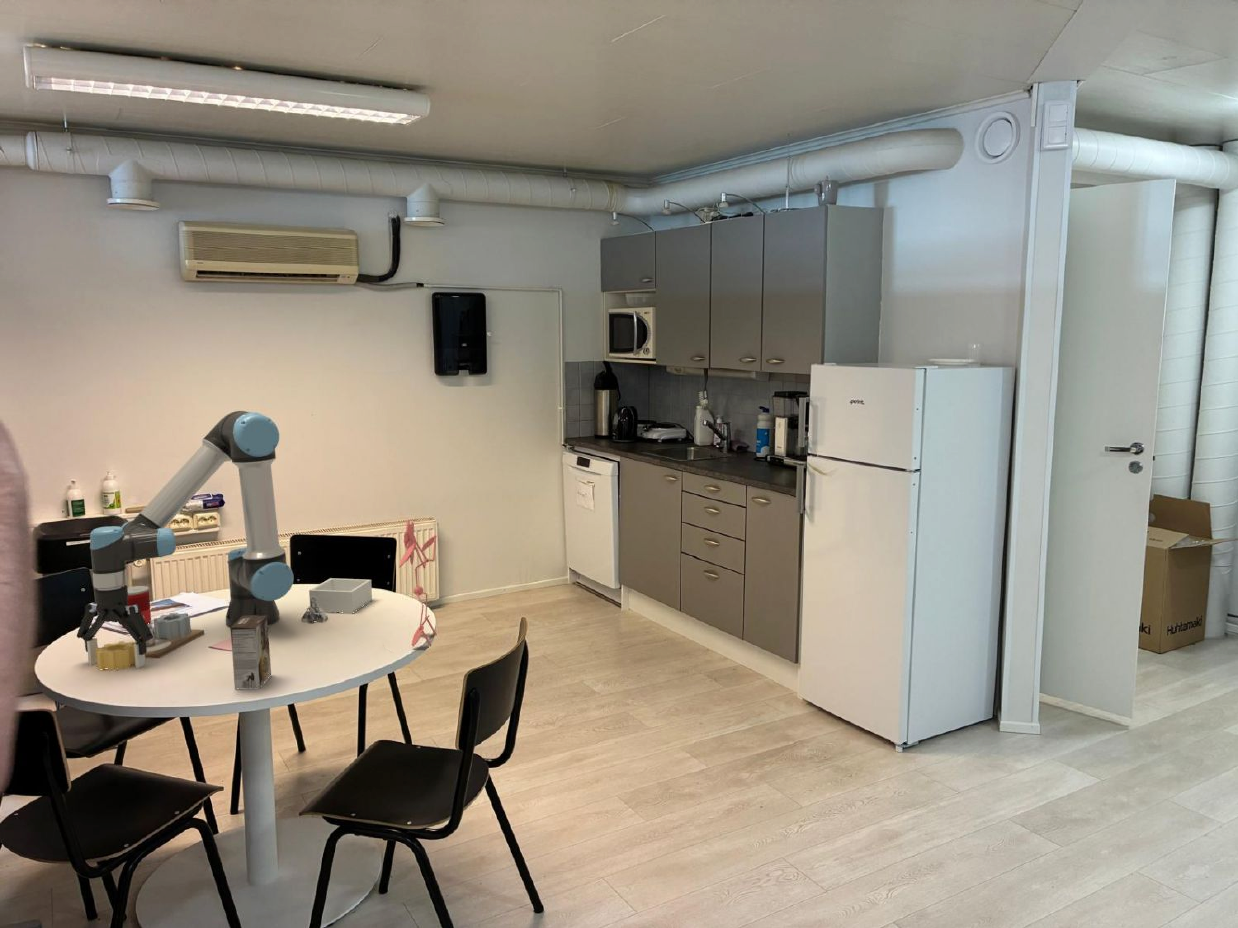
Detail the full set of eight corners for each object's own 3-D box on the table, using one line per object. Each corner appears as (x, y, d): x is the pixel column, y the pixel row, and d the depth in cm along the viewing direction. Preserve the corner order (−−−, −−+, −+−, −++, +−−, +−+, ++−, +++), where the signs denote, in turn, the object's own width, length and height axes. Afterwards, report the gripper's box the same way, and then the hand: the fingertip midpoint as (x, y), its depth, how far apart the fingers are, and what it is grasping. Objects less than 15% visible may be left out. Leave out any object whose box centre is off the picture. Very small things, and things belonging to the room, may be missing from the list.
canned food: (157, 620, 266) (154, 586, 264) (140, 629, 258) (137, 593, 257) (133, 620, 267) (130, 585, 265) (115, 628, 259) (112, 592, 257)
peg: (157, 644, 242) (155, 622, 241) (151, 647, 239) (150, 625, 238) (149, 644, 242) (147, 622, 241) (143, 647, 240) (142, 625, 239)
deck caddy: (372, 600, 286) (371, 579, 285) (352, 613, 272) (351, 592, 271) (331, 598, 288) (330, 578, 287) (310, 611, 274) (309, 590, 273)
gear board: (204, 633, 254) (204, 629, 254) (158, 658, 234) (158, 653, 234) (163, 631, 256) (163, 627, 256) (115, 656, 236) (114, 651, 236)
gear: (197, 629, 254) (195, 609, 253) (177, 640, 245) (175, 619, 244) (169, 628, 255) (167, 608, 254) (148, 638, 246) (146, 617, 245)
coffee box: (246, 676, 222) (242, 615, 219) (272, 675, 222) (268, 614, 220) (233, 690, 213) (229, 626, 210) (260, 689, 213) (256, 626, 211)
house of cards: (287, 627, 260) (286, 602, 259) (301, 618, 269) (299, 594, 268) (316, 628, 259) (315, 603, 258) (329, 619, 268) (328, 595, 267)
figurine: (444, 625, 260) (440, 511, 256) (429, 656, 235) (424, 529, 230) (392, 626, 260) (387, 511, 255) (371, 657, 234) (366, 530, 229)
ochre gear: (144, 660, 233) (143, 642, 232) (121, 672, 224) (119, 653, 224) (114, 658, 234) (112, 640, 234) (90, 670, 226) (88, 652, 225)
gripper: (164, 584, 228) (169, 662, 231) (78, 580, 232) (85, 657, 235) (144, 592, 221) (150, 672, 224) (56, 588, 224) (63, 667, 227)
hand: (117, 664), depth 229 cm, fingers open, 13 cm apart
